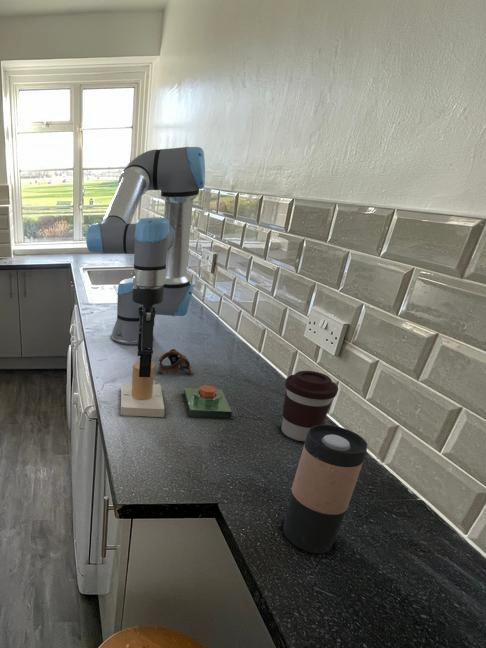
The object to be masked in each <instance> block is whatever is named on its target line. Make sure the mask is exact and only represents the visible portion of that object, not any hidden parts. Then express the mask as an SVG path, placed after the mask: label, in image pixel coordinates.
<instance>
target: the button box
mask: <svg viewBox="0 0 486 648" xmlns="http://www.w3.org/2000/svg"><path fill="white" fill-rule="evenodd" d="M199 393H200V387H196V388H195V387H193V388H192V387H183V398H184V401H185V405H186V409H187V412H188V415H189V417H190V418H205V419H225V420H231V419H232V409H231V407H230V404H229V403H228V401H227V400H228V399H227V397H226V395H225V393H224V392H223V389H220V388H219V389H218V388H216V395H215V397H204V396H201V395H200V394H199Z"/></svg>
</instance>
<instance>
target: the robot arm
mask: <svg viewBox="0 0 486 648" xmlns="http://www.w3.org/2000/svg"><path fill="white" fill-rule="evenodd" d="M205 185H206V160H205V152H204V150H203V148H202V147H200V146H183V147H172V148H161V149H150V150H147V151H144V152H143V153H141V154H139V155H137V156H136V157H134V158H133V159H132V160H131V161H129V162H128V163H127V164H126V166H124V168H123V170H122V171H121V173H120V175H119V177H118V187H117V190H116V191H115V194H114V196H113V198H112V200H111V202H110V204H109V206H108V208H107V210H106V213H105V214H104V216H103V219H102V220H101V223H99V222H97V223H91V224H89V226H88V228H87V230H86V236H85V241H86V248H87V250H88V252H90V253H93V254H101V255H104V254H112V255H115V254H116V255H118V254H123V255H125V254H126V255H134V257H133V271H131V272H130V276H131V277H129V278H125V279H123V280H121V281H120V282H119V283H118V286H117V293H116V295H117V300H116V301H117V302H116V303H117V306H116V307H117V308H116V321H115V323H114V326H113V328H112V332H111V339H112V341H114V342H116V343H119V344H121V345H128V346H137V357H139V361H140V366H139V377H150V373H151V363H152V359H153V357H152V356H153V354H154V350H153V348H154V327H155V318H156V315H158V316H170V317H184V316H186V315H187V314H188V311H189V307H190V305H191V304H190V303H191V300H192V297H193V292H194V288H195V284H194V283H192V282H191V277H189V275H188V274H187V270H188V260H189V247H190V239H191V238H190V236H191V229H192V218H193V217H192V215H193V207H194V205H193V204H194V200H195V199H196V198H197V197H198V196H199V195H200V190H201V189H204V188H205ZM147 191H160V198H161V199H162V200H163V201H164V216H163V217H160V216H159V217H142V218H139V219H137V220H136V223H132V220H133V218H134V216H135V213H136V211H137V208H138V206H139V204H140V201H141V199H142V196H143V195H145V194H146V193H147Z"/></svg>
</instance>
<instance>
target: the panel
mask: <svg viewBox="0 0 486 648" xmlns="http://www.w3.org/2000/svg"><path fill="white" fill-rule="evenodd" d="M161 385H162V384H157V383H153V392H152V397H151V398H150V399H147V400H139V399H135V398H134V397H132V395H131V391H132V382H121V387H120V388H121V389H120V390H121V391H120V416H131V417H147V418H148V417H150V418H151V417H152V418H165V410H166V409H165V402H164V398H163V392H162V391H163V390H162V386H161Z"/></svg>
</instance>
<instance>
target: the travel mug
mask: <svg viewBox="0 0 486 648" xmlns="http://www.w3.org/2000/svg"><path fill="white" fill-rule="evenodd" d="M367 452H368V442H367V441H366V439H365V438H363V437H362V436H361V435H360V434H358V433H356V432H354V431H352V430H350V429H347V428H343V427H340V426H336V425H330V424H323V425H317V426H313V427H311V428H310V429H309V431H308V433H307V437H306V440H305V441H304V444H303V447H302V452H301V454H300V458H299V462H298V465H297V468H296V472H295V476H294V479H293V483H292V486H291V490H290V495H289V499H288V504H287V507H286V511H285V512H286V513H285V518H284V522H283V528H282V531H283V534H284V536H285V537H286V539H287V540H288V541H289V542H290V543H291V544H292V545H294V546H295V547H297V548H299V549H300V550H303V551H304V552H308V553H311V554H324V553H327V552H329V551H330V550H331V548H332V547H333V544H334V542H335V540H336V537H337V535H338V533H339V530H340V527H341V525H342V522H343V520H344V518H345V516H346V513H347V511H348V508H349V505H350V502H351V499H352V496H353V493H354V490H355V487H356V484H357V481H358V478H359V475H360V473H361V470H362V466H363V464H364V461H365V459H366V455H367Z"/></svg>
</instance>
